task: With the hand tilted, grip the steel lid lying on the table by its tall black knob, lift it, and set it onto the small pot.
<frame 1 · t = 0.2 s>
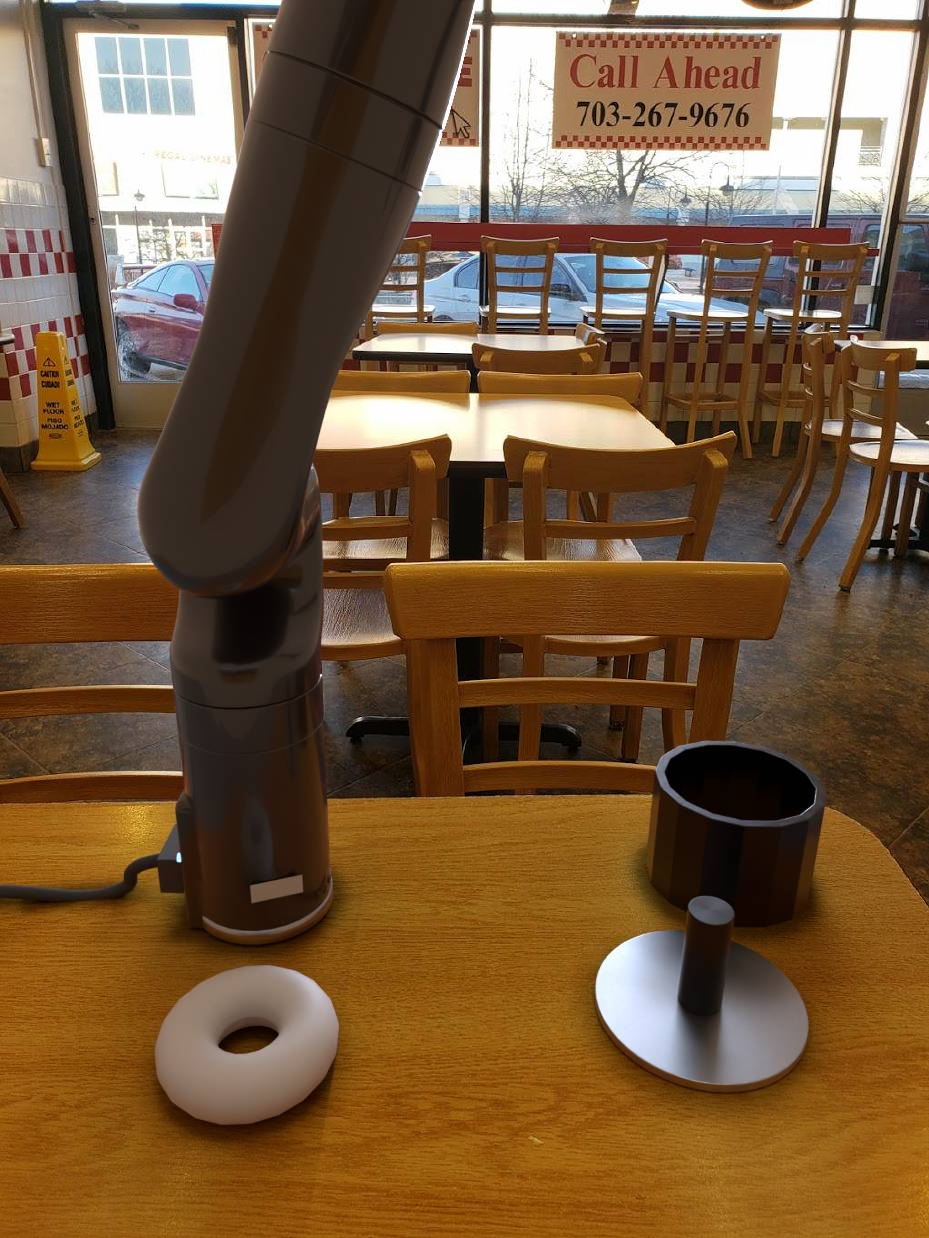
pot: (725, 881, 69), on the table
lid: (698, 1006, 56), point 1 cm above the table
donut: (250, 1064, 53), on the table
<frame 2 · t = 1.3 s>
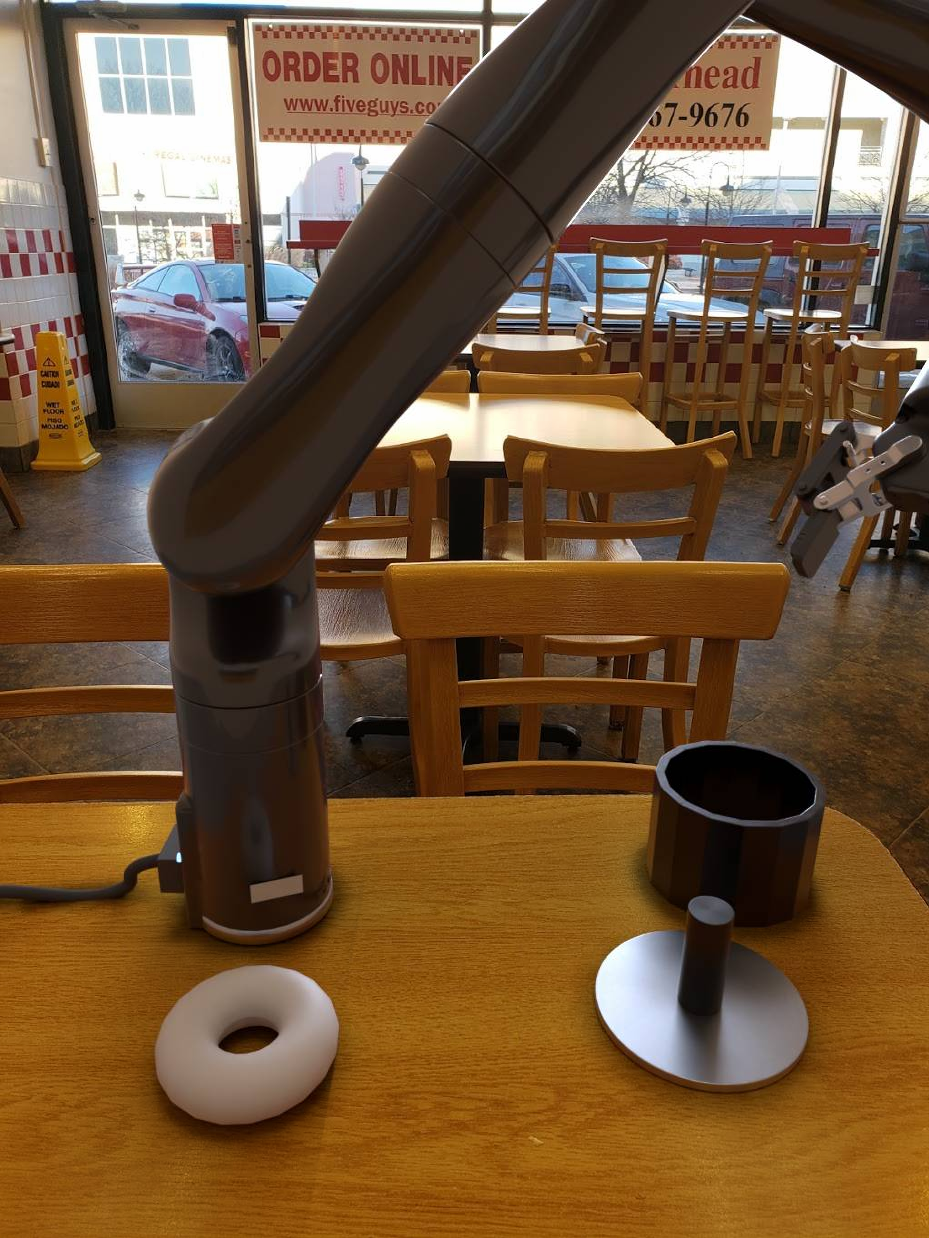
hand: (866, 589, 55), 25 cm above the table, tool tilted 45°, fingers open, 8 cm apart
nothing on the table moved.
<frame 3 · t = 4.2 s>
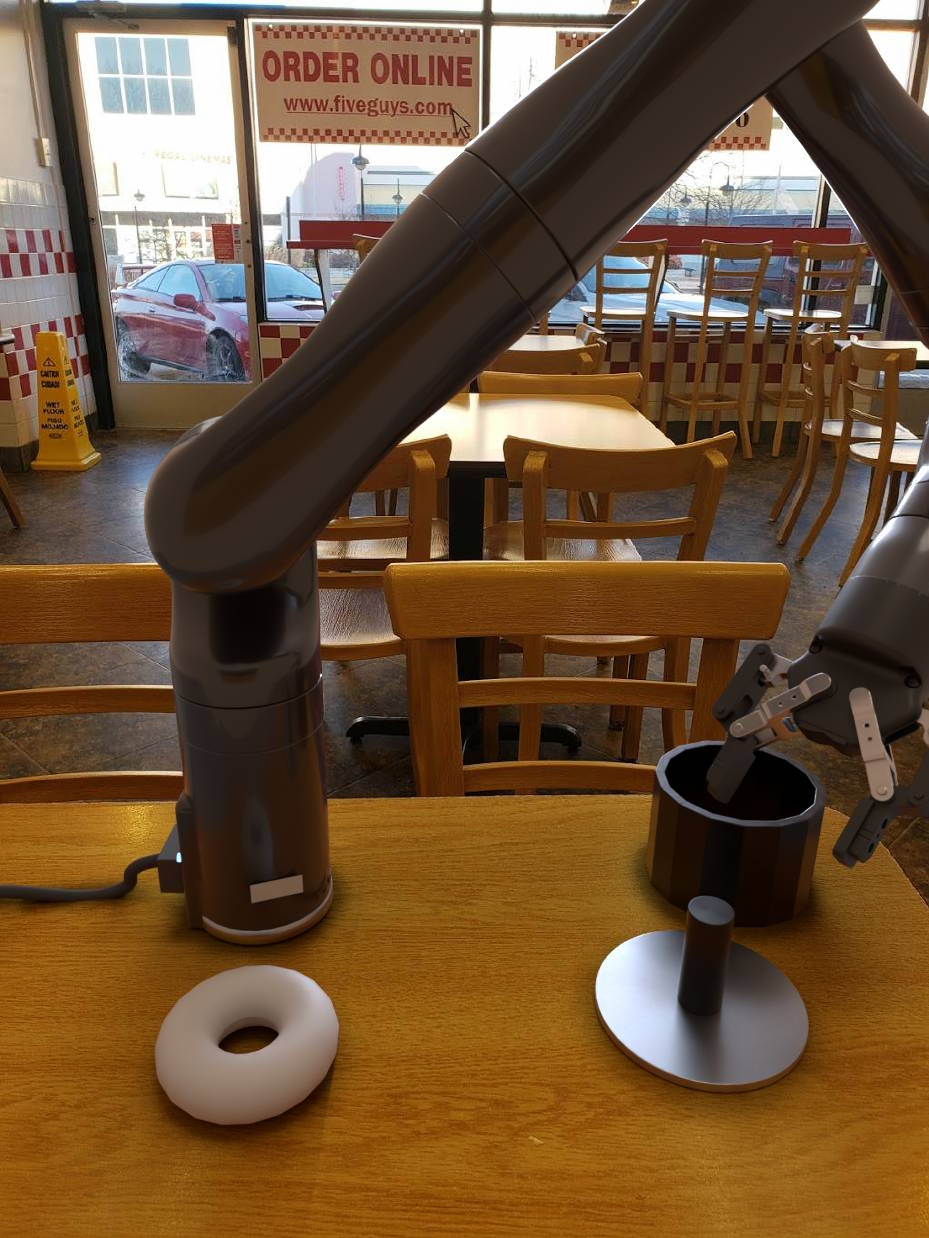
hand: (775, 827, 56), 11 cm above the table, tool tilted 45°, fingers open, 8 cm apart
nothing on the table moved.
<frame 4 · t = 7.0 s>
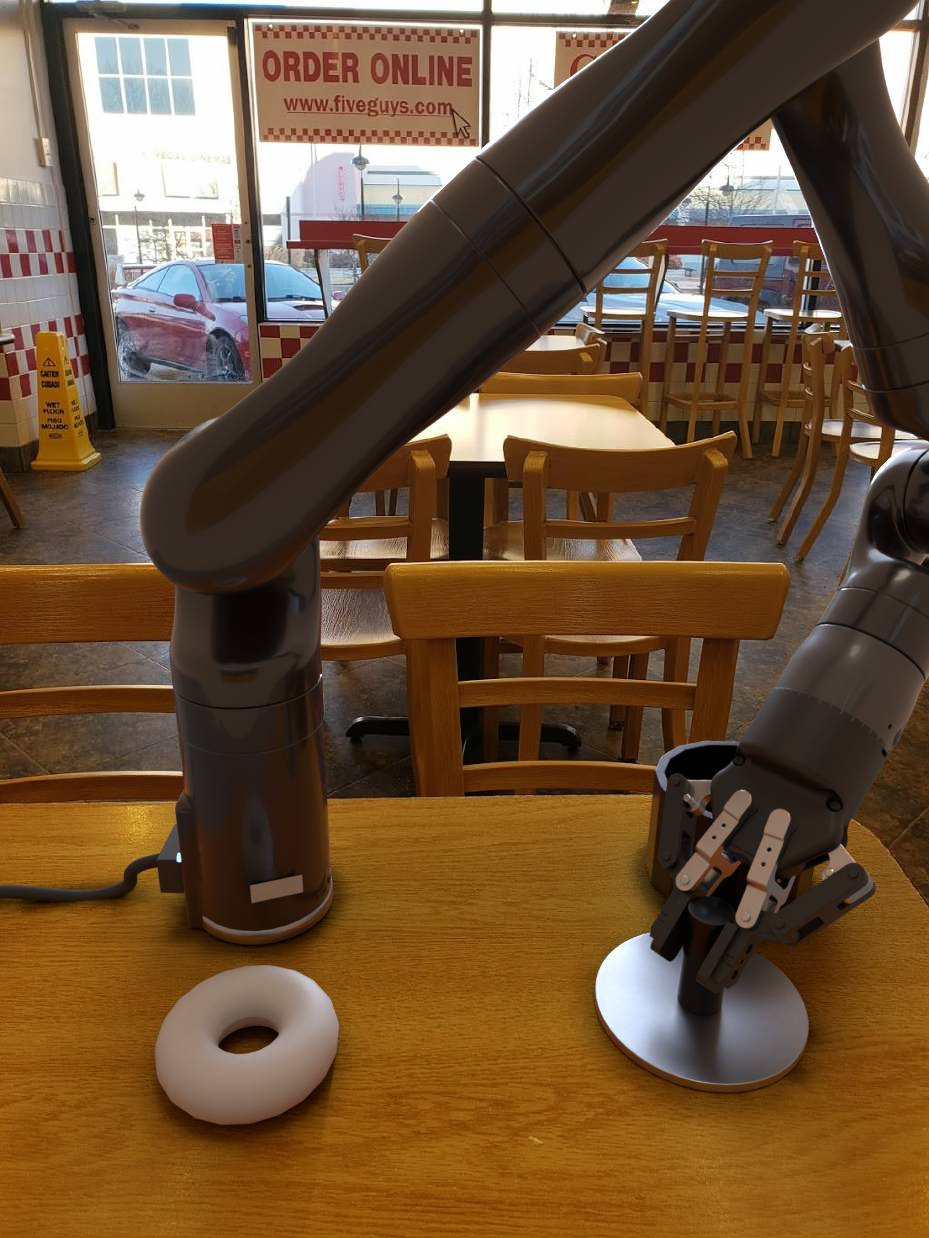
hand: (683, 969, 54), 5 cm above the table, tool tilted 45°, fingers closed on lid, 2 cm apart
lid: (698, 1006, 56), point 1 cm above the table, touching gripper
everything else where it was.
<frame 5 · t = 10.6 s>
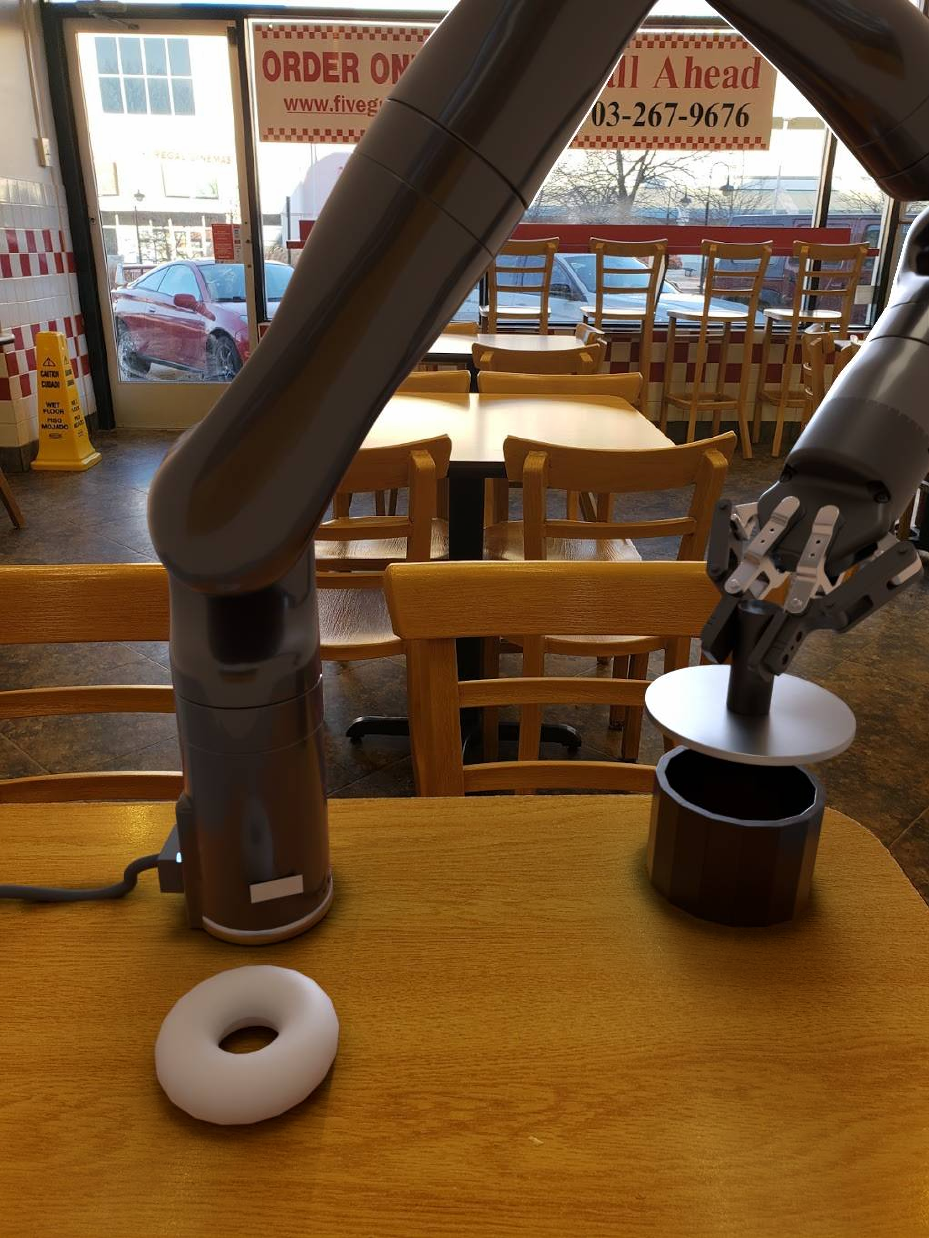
hand: (734, 664, 55), 20 cm above the table, tool tilted 45°, fingers closed on lid, 2 cm apart
lid: (746, 714, 58), point 16 cm above the table, touching gripper
everything else where it was.
when the fingers open (12 cm above the table, at t = 14.3 s): lid stays where it is, resting on pot.
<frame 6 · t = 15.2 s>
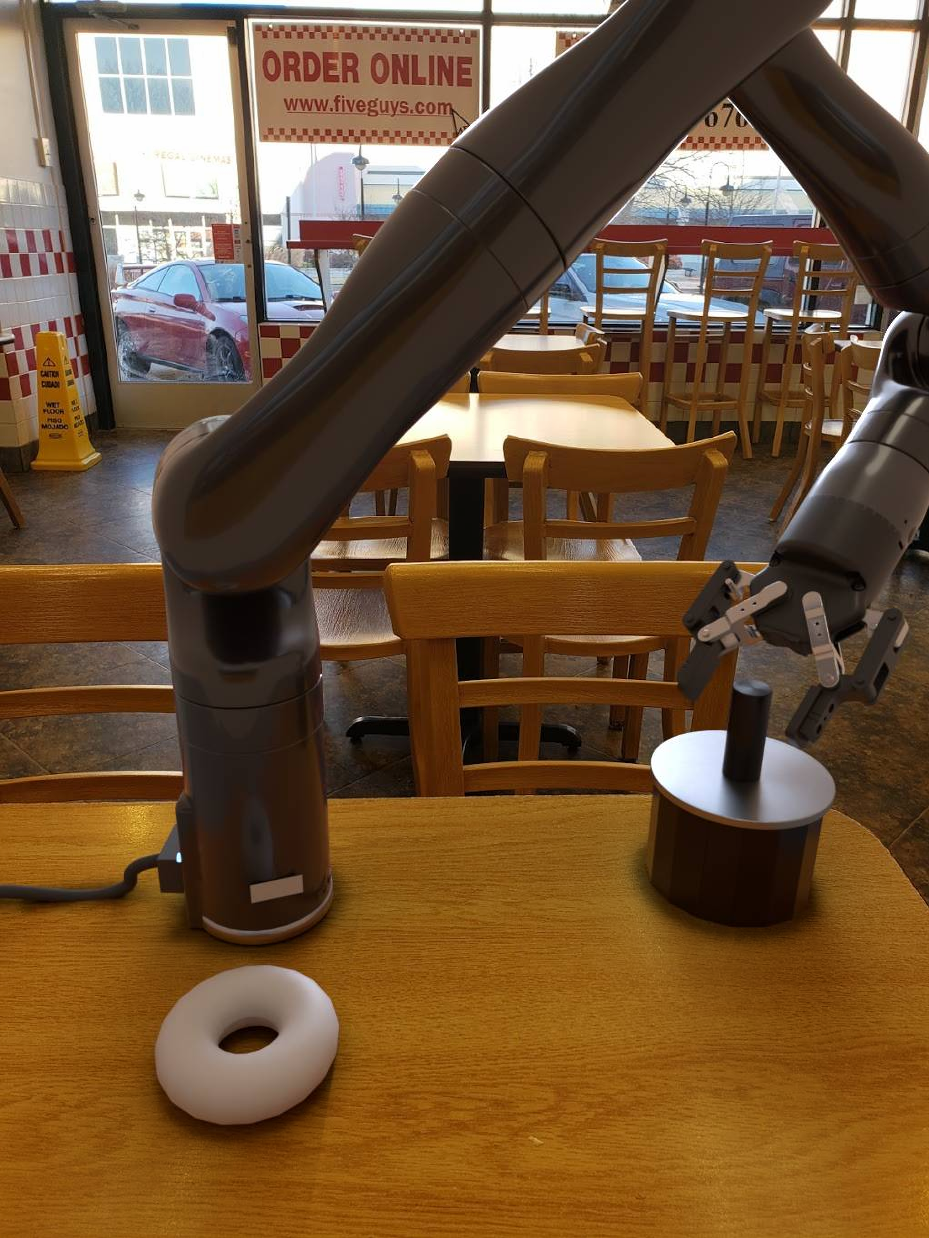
hand: (736, 717, 63), 14 cm above the table, tool tilted 45°, fingers open, 8 cm apart
lid: (740, 779, 66), point 8 cm above the table, touching pot
everything else where it was.
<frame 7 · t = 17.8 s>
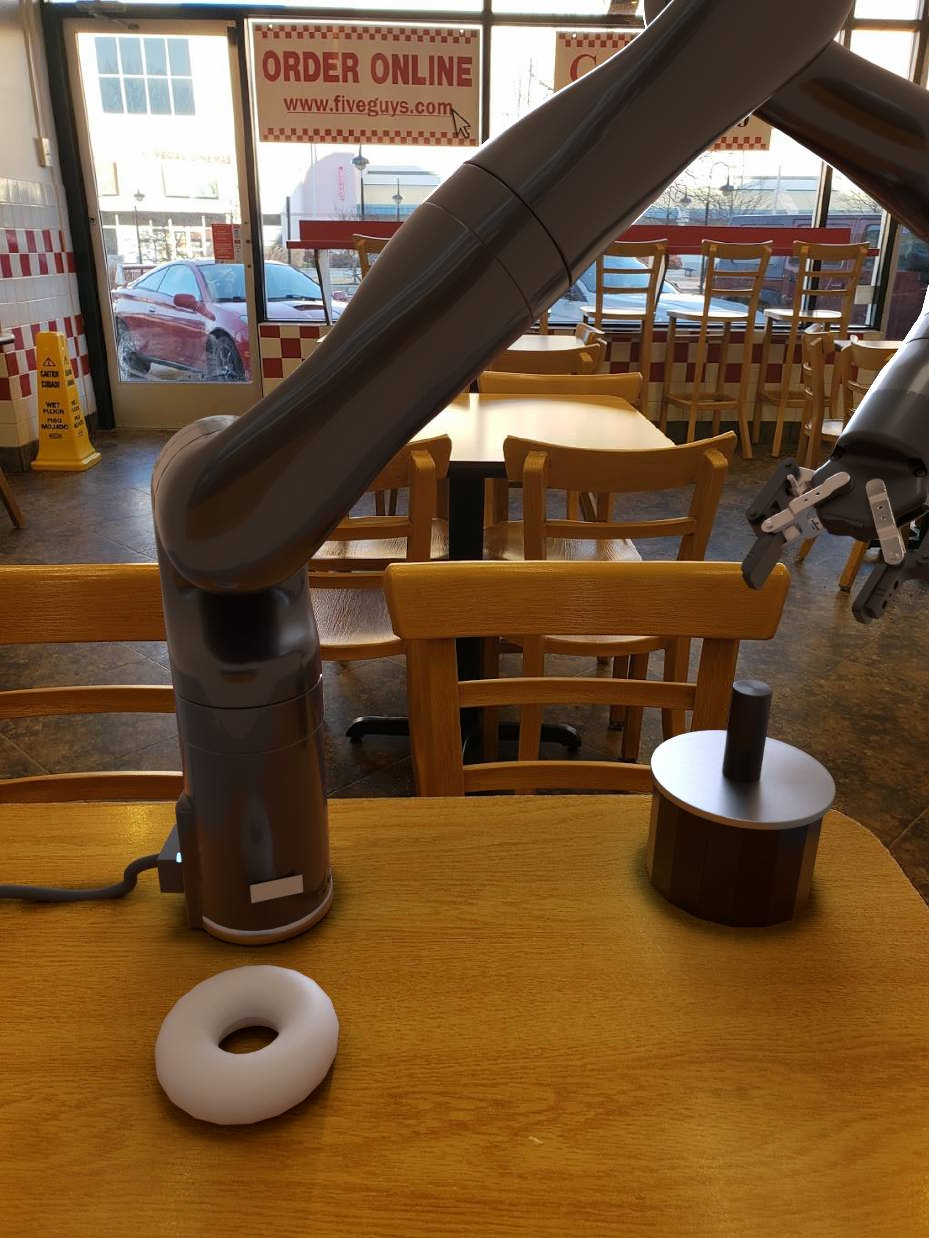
hand: (802, 600, 65), 20 cm above the table, tool tilted 45°, fingers open, 8 cm apart
nothing on the table moved.
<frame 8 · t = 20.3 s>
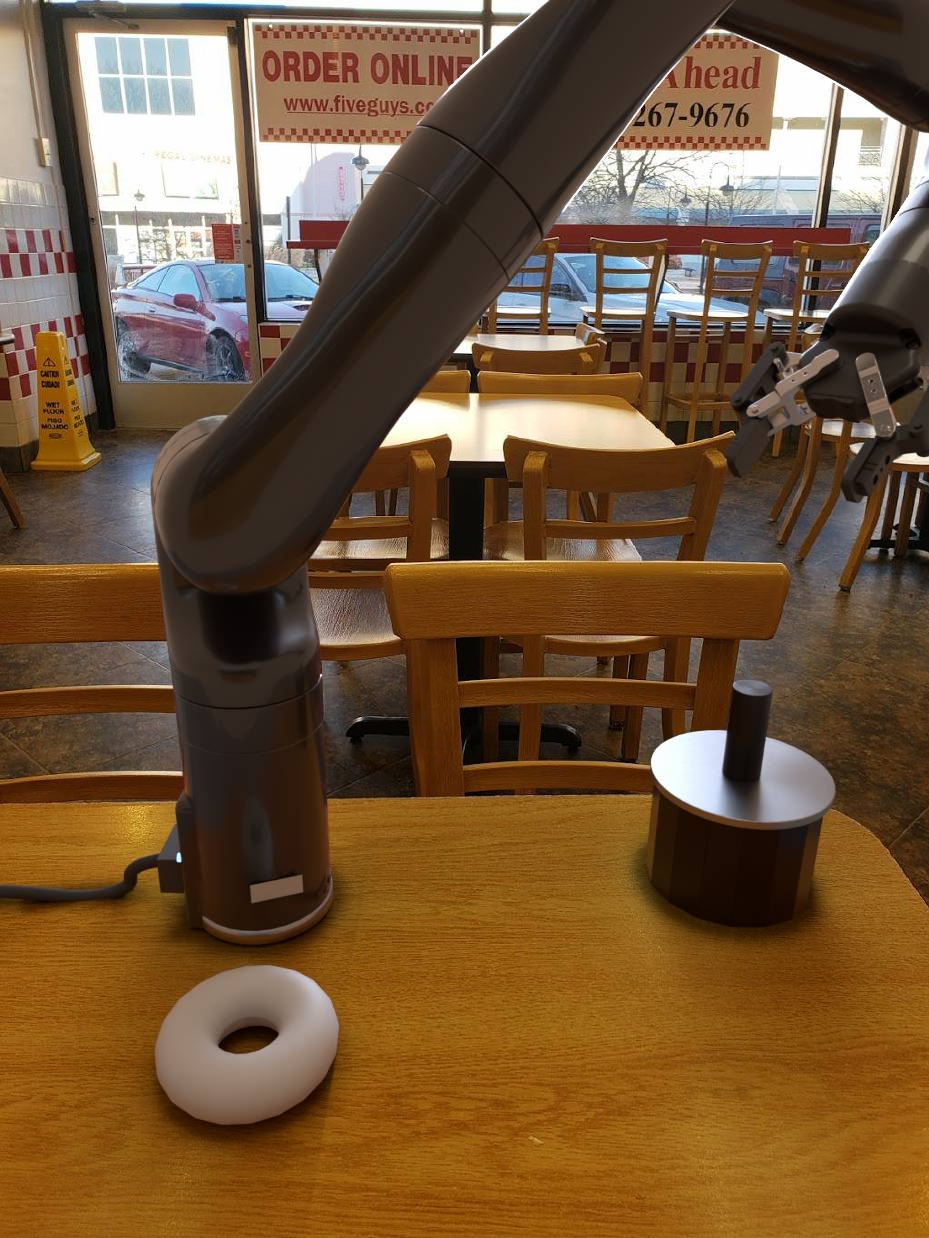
hand: (788, 482, 62), 29 cm above the table, tool tilted 45°, fingers open, 8 cm apart
nothing on the table moved.
at the end: lid 0.1 cm off-centre on the pot, point 8.5 cm above the pot's base; lid tilted 0°; the gripper is holding nothing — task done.
